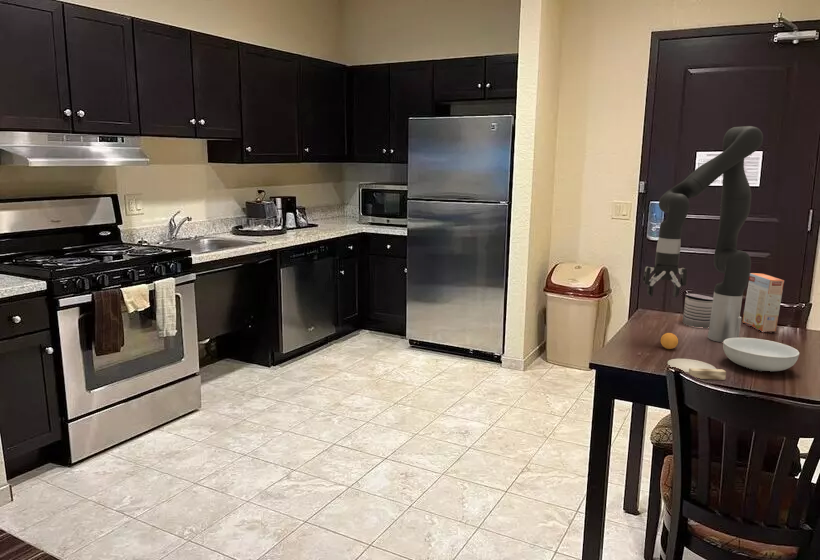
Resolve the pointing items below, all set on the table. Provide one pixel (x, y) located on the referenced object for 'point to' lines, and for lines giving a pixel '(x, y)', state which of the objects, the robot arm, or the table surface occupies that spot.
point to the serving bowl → (760, 354)
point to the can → (697, 310)
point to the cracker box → (763, 301)
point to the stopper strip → (708, 373)
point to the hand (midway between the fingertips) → (662, 296)
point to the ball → (669, 341)
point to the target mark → (689, 364)
